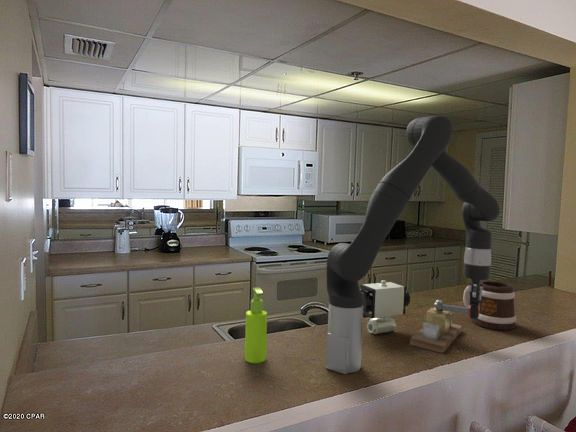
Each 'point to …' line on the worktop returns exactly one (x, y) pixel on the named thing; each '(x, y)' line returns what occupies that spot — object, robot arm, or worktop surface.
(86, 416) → the worktop surface
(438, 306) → the lever
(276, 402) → the worktop surface
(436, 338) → the valve pipe
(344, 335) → the robot arm
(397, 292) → the ball valve
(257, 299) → the soap dispenser
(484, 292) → the mug
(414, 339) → the valve base
